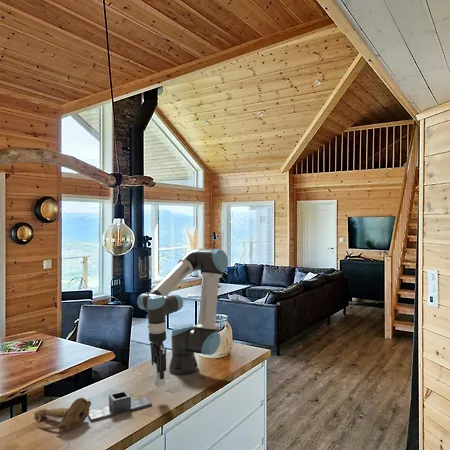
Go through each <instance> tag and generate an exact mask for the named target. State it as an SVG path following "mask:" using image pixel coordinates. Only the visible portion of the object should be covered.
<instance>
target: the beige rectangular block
mask: <svg viewBox="0 0 450 450" xmlns="http://www.w3.org/2000/svg"><path fill="white" fill-rule="evenodd" d="M153 364H154V367H153V380H154V381H153V384H154V385H155V387H156V388H159V386H158V373H157V371H158V361H156V362H153ZM165 373H166V371H164V381H165V382H166V376H165V375H166V374H165Z"/></svg>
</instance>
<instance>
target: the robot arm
mask: <svg viewBox="0 0 450 450" xmlns="http://www.w3.org/2000/svg"><path fill="white" fill-rule="evenodd" d="M228 266H229V260H228V256H227V254H226V251H224V250H223V249H220V248H219V249H217V248H196V249H193V250H191V251H190V252H187V253H186V254H185V255H183V256H182V257H181V258H180V259H179V260H178V261H177V265H175V267H174V268H173V269H171V270H169V273H167V274H166V275H165V276H164V277H163V278H162V279H161V280H160V281H159V282H158V283H156V285H155V286H154V287H153V288H152V289H151V290H149V292H147V293H141V294H140V295H139V296H138V297H137V301H136V304H137V307H138V308H139V309H141V310H145V311H147V319H148V321H147V322H148V325H147V328H148V332H149V333H148V341H149V343H150V344H149V346H150V355H151V357H150V358H151V365H152V366H153V368H154V364H153V362H156V361H158V371H157V373H158V386H159V387H164V386H166V380H165V381H164V371H165V372H167V348H165V345H164V341H166V340H167V331H166V330H167V324H166V323H167V322H166V321H167V320H166V316H167V315H171V314H174V313H177V312H178V311H180V310H182V309H183V306H184V299H183V298H182V296H180V295H179V294H172V295H170V294H171V293H172V291H173V290H175V289H176V287H178V285H179V284H180V283H181V282H182V281H183V280H184V279H185V278H186V277H187V276H188V275H192V274H193V272H195V271H200V274H201V276H202V284H201V293H200V299H199V301H200V302H199V310H198V320H197V324H195V325H193V324H182V325H181V324H180V325H177V326H175V327H173V328H171V358H170V362H169V365H168V371H169V372H170V373H171V374H174V375H189V374H193V373H195V372H197V371H198V369H199V367H198V362H197V359H196V356H195V354H199V355H203V356H212V355H214V354H216V352H217V351H218V349H219V348H220V344H221V334H220V333H219V332H218V328H217V327H216V325H215V324H216V322H215V321H216V314H217V313H216V311H217V305H218V304H217V303H218V302H217V301H218V292H219V286H220V285H219V283H220V279H221V277H222V276H223V274H224V272H226V271H227V270H228ZM159 387H158V388H159Z"/></svg>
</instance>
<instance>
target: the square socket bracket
mask: <svg viewBox="0 0 450 450" xmlns="http://www.w3.org/2000/svg"><path fill="white" fill-rule="evenodd" d="M152 406H153V404H152V402H151V401H150V400H149V399H148V398H147V396H142V397H139V398H136V399H135V398H134V399H132V396H131V395H130V394H129V392H127V390H121V391H118V392H117V391H116V392H113V393H110V394H108V405H107V406H103V407H99V408H98V407H97V408H95V409H91V410H90V409H89V414H88V416H87V417H88V418H89V420H90V422H92V423H93V422H95V421H99V420H103V419H107V418H110V417H114V416H116V415H120V414H124V413H128V412H133V411H137V410H141V409H145V408H149V407H152Z"/></svg>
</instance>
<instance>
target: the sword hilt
mask: <svg viewBox="0 0 450 450" xmlns="http://www.w3.org/2000/svg"><path fill="white" fill-rule="evenodd" d="M91 405H92V402H91V401H90V400H87V399H86V398H84V397H79V398H76V399H75V400H74V401H73V402H72V403H71V405H70V406H69V408H67V407H60V408H51V409H47V408H41V409H39V410H36V411H35V412H34V414H33V416H35V417H36V419H37V421H36V424H35V425H36V427H37V428H39V429H43V430H56V429H59V432H62V431H63V432H64V431H69V430H73V429H75V428H77V427H79V426H80V425H81V424H82V423H84V421H85V420H86V419H87V418H88V417H89V416H88V414H89V411H90V407H91ZM47 416H48V417H49V416H50V417H52V418H56V419H57V418H58V419H59V418H60V419H61V421H60V422H59V423H58V424H57V426H44V425H39V423H40V422H41V420H42V419H44V418H46V417H47Z"/></svg>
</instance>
